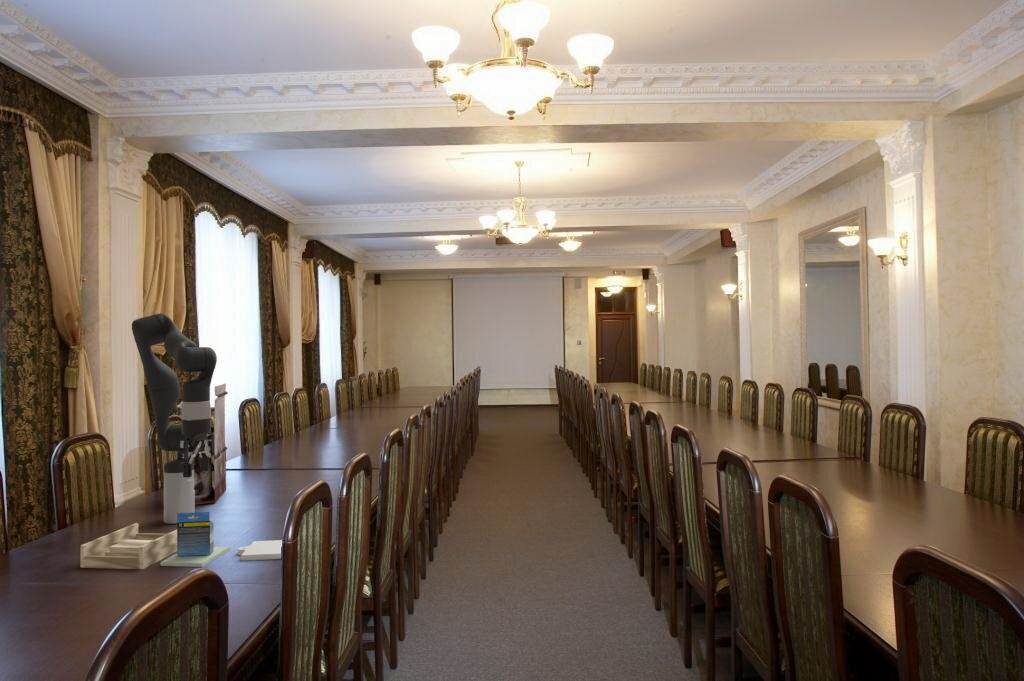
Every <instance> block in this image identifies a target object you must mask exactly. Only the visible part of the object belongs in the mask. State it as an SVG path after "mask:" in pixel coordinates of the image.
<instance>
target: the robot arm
mask: <svg viewBox="0 0 1024 681" xmlns="http://www.w3.org/2000/svg"><path fill="white" fill-rule="evenodd" d="M131 331H132V335H133V338H134V343H135V345H136V347H137V351H138V354H139V357H140V360H141V363H142V366H143V371H144V372H143V373H144V377H145V382H146V386H147V391H148V394H149V398H150V402H151V406H152V409H153V415H154V420H155V427H156V435H157V440H158V445H159V448H160V449H161V450H162V451H164V452H176V459H172V460H171V461H166V462H165V463H164V465H163V523H164V524H171V525H173V524H174V525H175V524H177V513H196V509H195V508H196V505H195V490H194V457H195V456H196V454H197V453H199V454H200V456H201V471H208V470H209V458H210V457H211V458H212V456H211V455H212V454H214V450H215V434H213V433H212V434H208V433H210V432H211V424H212V407H211V384H212V379H213V376H214V372H215V369H216V366H217V363H218V362H217V361H218V359H217V354H216V352H215V350H214V349H213V348H212V347H208V346H198V345H197V344H196V343H195V342H194V341H193V340H191V339H190V338H188V337H187V336H186V335H184V334H183V332H182V331H181V329H180V328H179V327H178V326H177V325H176V323H175V322H174V321H173V319H172V318H171V317H169V315H167V314H165V313H161V312H160V313H156V314H151V315H148V316H144V317H140V318H136V319H134V320H132V323H131ZM158 344H163V347H164V350H165V352H166V354H168V355H169V356H170V357H171V358H173V360H174V362H175V365H176V368H177V369H178V370H179V371H181V372H184V373H196V372H197V373H198V372H199V374H198V376H197V377H196V378H194V379H191V380H190V379H189V380H186V381H183V384H182V391H181V386H180V381H179V378H178V374H177V373H176V372H175V370H173V368H171V367H169V366H168V365H167V364H166V363H164V362H163V361H162V360H160V359H159V357H157V355H155V354H154V352H153V351H152V346H156V345H158ZM181 392H182V393H181ZM181 394H182V402H183V403H182V420H181V424H179V423H177V424H171V421H170V415H171V413H172V411H173V410H174V408H175V406H177V403H178V401H179V399H180V397H181ZM209 446H210V448H209ZM211 458H210V459H211ZM188 519H195V516H194V515H193V516H192V517H188Z"/></svg>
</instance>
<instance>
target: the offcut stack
mask: <svg viewBox="0 0 1024 681" xmlns="http://www.w3.org/2000/svg"><path fill="white" fill-rule="evenodd" d="M151 541H153V540H125V541H122V542H120V543H118V544H115V545H113V546H111V547H110V550H109V551H106V552H105V556H129V557H139V547H140V546H142V545H145V544H147V543H149V542H151Z"/></svg>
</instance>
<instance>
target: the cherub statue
mask: <svg viewBox="0 0 1024 681" xmlns="http://www.w3.org/2000/svg"><path fill="white" fill-rule="evenodd" d="M226 389H227V383H222V384H220V385H215V386H214V396H216V397H217V398H215V399H214V424H212V423H211V432H210V433H208V434H213V433H214V454H212V455H211V457H210V458H209V470H208V471H201V456H200V454H199V453H197V454H196V456H195V457H194V490H195V506H197V505H205V504H215V503H217V502H218V501H219V499H220V497H221V496H222V495H223V494H224V493H225V492H226V491H227V464H226V462H227V461H226V451H227V450H228V447H227V446H226V417H225V416H226V413H225V412H226V408H225V407H226V396H227V395H228V393H229V392H228V391H226ZM182 403H183V401H181V402H180V403H179V404H176V408H177V409H178V412H179V416H178V417H179V419H180V420H181V421H182ZM209 448H210V446H209ZM212 457H216V458H215V459H214V462H212ZM213 472H214V485H213ZM213 486H214V487H213Z"/></svg>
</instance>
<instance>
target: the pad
mask: <svg viewBox="0 0 1024 681" xmlns="http://www.w3.org/2000/svg"><path fill="white" fill-rule="evenodd" d="M229 551H230V546H214V550H213V552H212V553H211V554H210V555H198V556H184V557H178V556H177V553H174V554H172V555H170V556H168V557H166V558H164V560H161V561H160V562H159V563H160V566H161V567H186V568H187V567H192V568H193V567H194V568H195V567H196V568H203V567H204V566H206V565H208V564H210V563H211V562H213V561H214V560H216V559H218V558H219V557H221V556H223V555H224V554H226V553H228V552H229Z"/></svg>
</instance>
